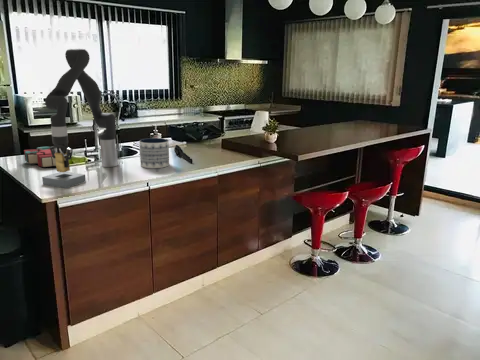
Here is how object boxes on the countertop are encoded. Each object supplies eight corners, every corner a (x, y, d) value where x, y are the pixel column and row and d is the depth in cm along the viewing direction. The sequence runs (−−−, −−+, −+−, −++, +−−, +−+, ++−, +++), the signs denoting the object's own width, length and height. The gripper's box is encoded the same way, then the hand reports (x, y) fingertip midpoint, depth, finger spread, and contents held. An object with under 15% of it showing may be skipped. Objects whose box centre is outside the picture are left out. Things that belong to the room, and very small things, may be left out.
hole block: (63, 178, 220) (63, 171, 219) (85, 181, 214) (85, 174, 213) (42, 184, 207) (42, 177, 206) (65, 188, 201) (64, 180, 200)
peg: (63, 169, 211) (61, 151, 209) (69, 170, 210) (68, 152, 207) (56, 171, 207) (54, 152, 205) (63, 172, 206) (61, 153, 203)
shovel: (194, 164, 260) (194, 153, 258) (189, 164, 259) (189, 153, 257) (177, 153, 291) (177, 143, 289) (172, 154, 289) (172, 144, 287)
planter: (137, 168, 245) (135, 142, 240) (145, 161, 262) (143, 137, 258) (165, 169, 244) (164, 143, 240) (171, 162, 262) (171, 138, 257)
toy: (73, 167, 249) (62, 156, 272) (72, 153, 246) (61, 143, 269) (31, 172, 235) (23, 160, 258) (29, 157, 233) (21, 146, 256)
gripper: (75, 135, 204) (78, 166, 209) (55, 132, 209) (58, 163, 214) (64, 137, 197) (67, 169, 202) (43, 134, 203) (47, 166, 207)
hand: (63, 166), depth 208 cm, fingers closed on peg, 4 cm apart
